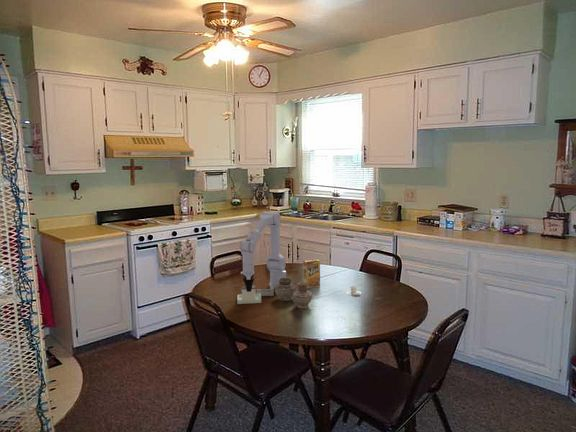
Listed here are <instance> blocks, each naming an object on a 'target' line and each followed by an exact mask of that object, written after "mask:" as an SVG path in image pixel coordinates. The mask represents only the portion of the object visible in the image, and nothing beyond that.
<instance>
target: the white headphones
mask: <svg viewBox="0 0 576 432" xmlns="http://www.w3.org/2000/svg"><path fill="white" fill-rule="evenodd" d="M357 288H358V287H357V286H356V285H351V286H350V290H348V291H346V292H345V293H346V294H347V295H348V296H355V297H356V296H360V295H362V292H361V291H359V290H357ZM350 293H351V294H350Z"/></svg>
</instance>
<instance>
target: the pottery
mask: <svg viewBox="0 0 576 432" xmlns="http://www.w3.org/2000/svg"><path fill="white" fill-rule="evenodd" d="M291 281H292V279H291V278H290V277H286V278H280V279H279V283H280V284H278V285H277V286H275V287H274V293H275V294H276V295H277V296H278V297H279V300H280V301H283V302H286V301H287V302H288V301H291V299H292V297H293V300H294V302H295V303H296V304H297V305H296V306H297V307H296V308H298V309H307V308H309V306H310V305H309V304H310V303H311V302H312V300H313V297H314V296H313V293H312V291H310V290H308V288H307V285H308V283H306V282H304V281H301V282H300V281H299V282H297V286H295V285H294V284H292V283H291ZM297 287H298V289H297Z"/></svg>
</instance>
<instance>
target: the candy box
mask: <svg viewBox="0 0 576 432" xmlns="http://www.w3.org/2000/svg"><path fill="white" fill-rule="evenodd" d="M302 263H303V273H302V275H303V282H306V283H308V285H307V289H310V288H317V287H321V260H320V259H318V258H316V259H307V260H306V259H305V260H303V262H302Z"/></svg>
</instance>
